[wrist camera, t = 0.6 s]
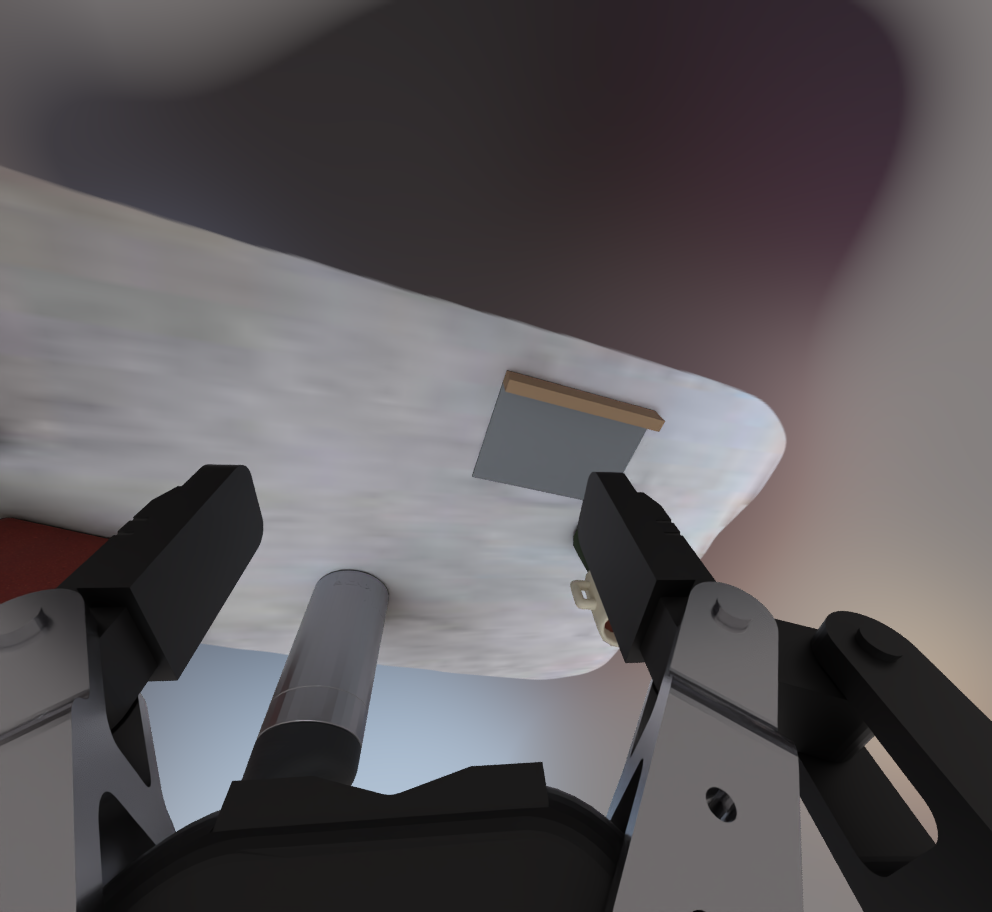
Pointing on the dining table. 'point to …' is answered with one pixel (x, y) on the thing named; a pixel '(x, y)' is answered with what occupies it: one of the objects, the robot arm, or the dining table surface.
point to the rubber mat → (558, 436)
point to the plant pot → (39, 556)
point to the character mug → (591, 599)
